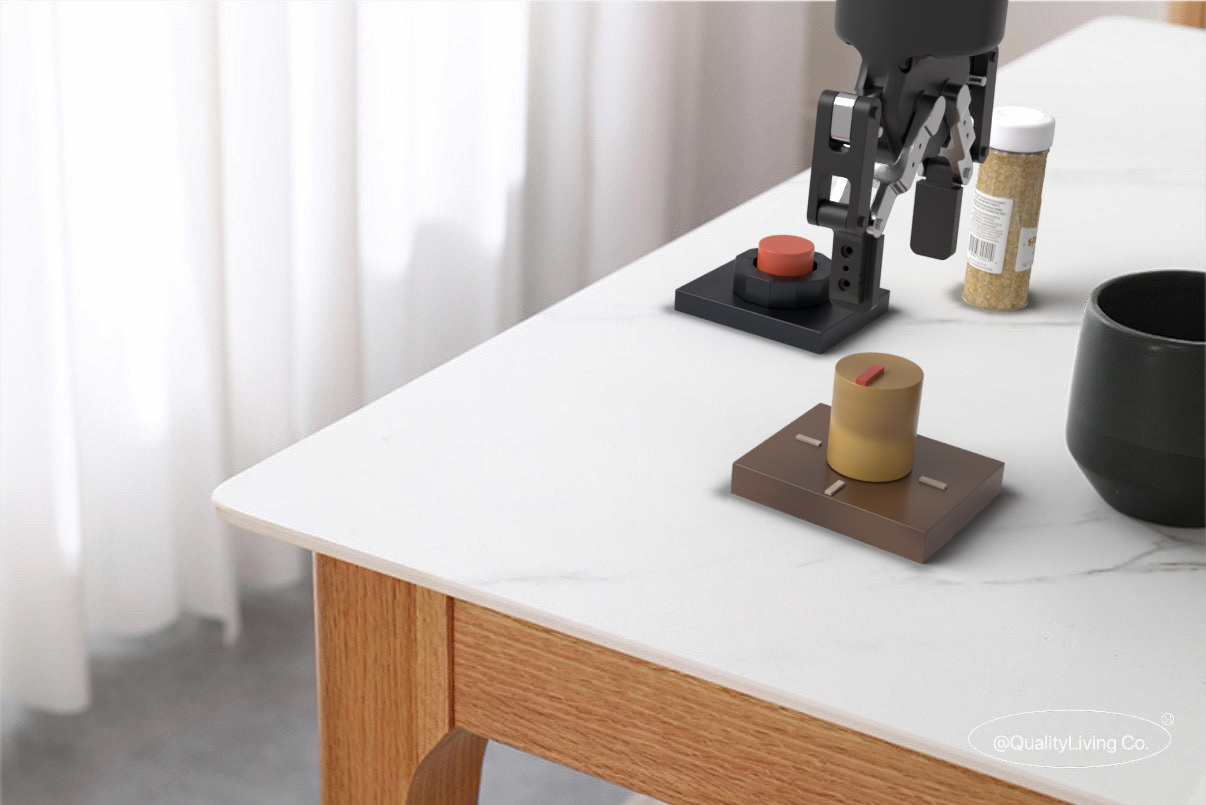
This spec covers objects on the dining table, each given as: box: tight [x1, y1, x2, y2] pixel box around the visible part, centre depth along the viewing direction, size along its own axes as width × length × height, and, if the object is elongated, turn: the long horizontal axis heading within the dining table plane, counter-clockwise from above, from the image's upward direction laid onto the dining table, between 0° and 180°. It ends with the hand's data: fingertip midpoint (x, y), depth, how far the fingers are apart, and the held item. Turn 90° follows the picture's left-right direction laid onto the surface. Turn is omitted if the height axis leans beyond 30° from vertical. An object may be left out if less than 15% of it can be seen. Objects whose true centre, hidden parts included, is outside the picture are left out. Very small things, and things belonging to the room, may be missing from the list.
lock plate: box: [730, 402, 1006, 565], centre depth 81 cm, size 11×9×3 cm
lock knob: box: [827, 351, 925, 482], centre depth 79 cm, size 4×4×6 cm
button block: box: [674, 247, 891, 355], centre depth 102 cm, size 11×9×4 cm
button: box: [757, 234, 816, 276], centre depth 101 cm, size 4×4×2 cm
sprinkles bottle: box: [961, 105, 1056, 312], centre depth 103 cm, size 5×5×13 cm
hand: (893, 280), depth 75 cm, fingers open, 8 cm apart
